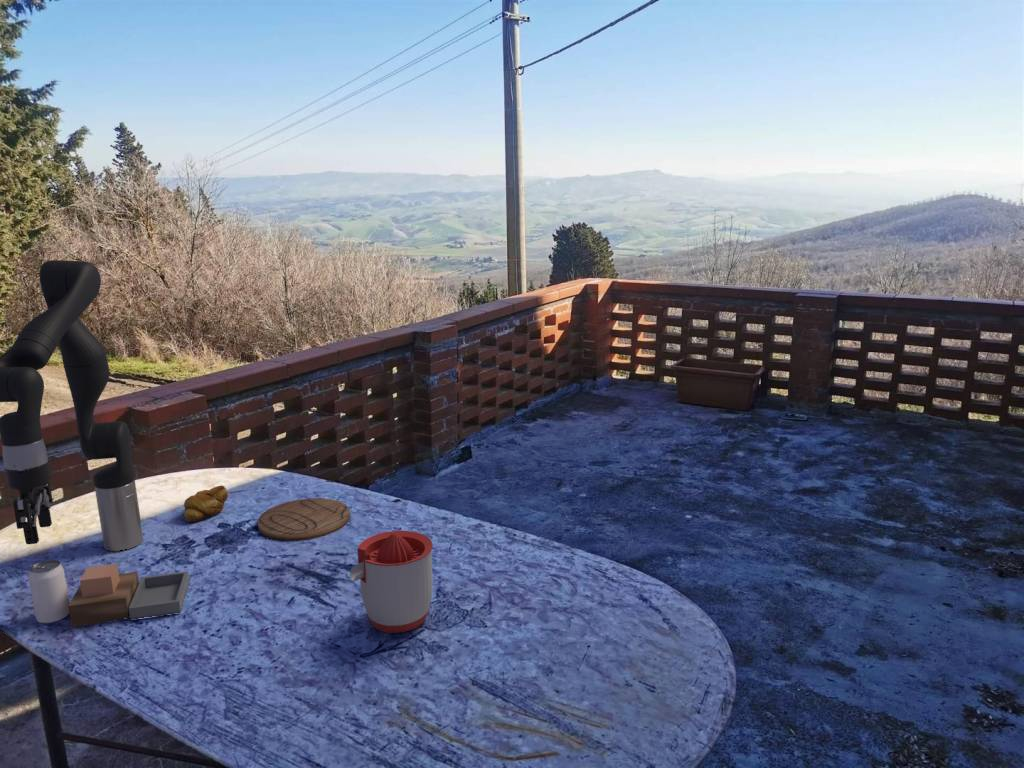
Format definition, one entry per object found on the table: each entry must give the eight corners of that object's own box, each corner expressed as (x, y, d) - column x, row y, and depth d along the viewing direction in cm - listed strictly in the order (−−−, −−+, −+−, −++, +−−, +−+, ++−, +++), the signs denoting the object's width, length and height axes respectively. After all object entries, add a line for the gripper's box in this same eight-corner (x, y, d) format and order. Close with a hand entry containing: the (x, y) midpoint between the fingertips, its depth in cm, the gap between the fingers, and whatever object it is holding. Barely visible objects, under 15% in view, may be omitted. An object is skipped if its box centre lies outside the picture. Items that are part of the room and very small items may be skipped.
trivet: (311, 497, 223) (311, 491, 222) (369, 517, 209) (368, 510, 208) (239, 526, 203) (238, 520, 203) (297, 550, 189) (296, 543, 189)
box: (143, 588, 170) (141, 577, 169) (189, 582, 173) (188, 571, 172) (130, 621, 157) (128, 608, 156) (180, 613, 160) (179, 601, 159)
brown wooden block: (87, 598, 166) (83, 578, 165) (140, 591, 169) (137, 571, 168) (71, 627, 155) (68, 606, 154) (128, 618, 158) (125, 598, 157)
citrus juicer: (346, 611, 160) (340, 526, 155) (423, 594, 167) (420, 512, 162) (362, 649, 146) (355, 558, 141) (445, 629, 153) (442, 541, 148)
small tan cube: (90, 583, 163) (87, 567, 162) (119, 579, 164) (117, 563, 163) (82, 597, 157) (79, 580, 156) (113, 593, 159) (110, 576, 158)
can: (54, 625, 156) (45, 574, 153) (29, 622, 157) (19, 571, 154) (78, 609, 162) (69, 560, 159) (53, 606, 163) (44, 557, 160)
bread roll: (196, 527, 203) (192, 500, 201) (172, 520, 207) (169, 493, 205) (233, 510, 214) (230, 484, 212) (210, 504, 218) (207, 478, 216)
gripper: (18, 453, 156) (30, 523, 160) (-8, 476, 143) (6, 552, 147) (57, 449, 158) (69, 519, 162) (35, 471, 145) (48, 547, 149)
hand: (39, 534), depth 155 cm, fingers open, 8 cm apart
